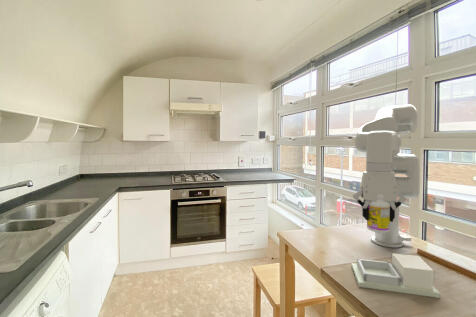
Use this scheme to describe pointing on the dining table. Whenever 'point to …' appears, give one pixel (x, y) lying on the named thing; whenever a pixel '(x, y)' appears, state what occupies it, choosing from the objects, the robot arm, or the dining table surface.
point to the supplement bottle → (379, 215)
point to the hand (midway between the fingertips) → (378, 219)
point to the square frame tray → (397, 275)
